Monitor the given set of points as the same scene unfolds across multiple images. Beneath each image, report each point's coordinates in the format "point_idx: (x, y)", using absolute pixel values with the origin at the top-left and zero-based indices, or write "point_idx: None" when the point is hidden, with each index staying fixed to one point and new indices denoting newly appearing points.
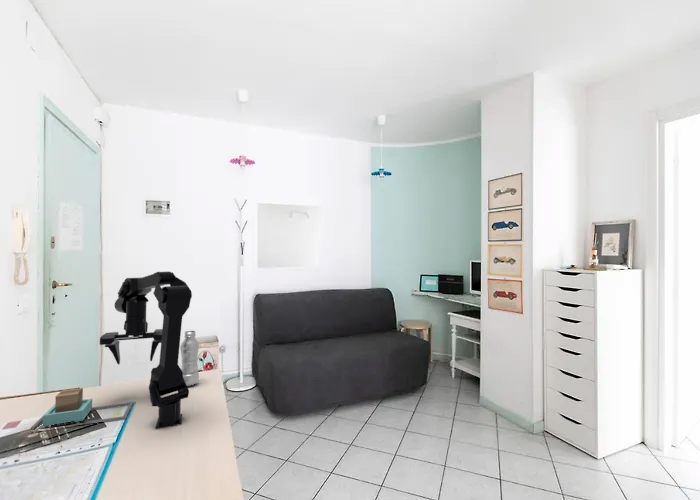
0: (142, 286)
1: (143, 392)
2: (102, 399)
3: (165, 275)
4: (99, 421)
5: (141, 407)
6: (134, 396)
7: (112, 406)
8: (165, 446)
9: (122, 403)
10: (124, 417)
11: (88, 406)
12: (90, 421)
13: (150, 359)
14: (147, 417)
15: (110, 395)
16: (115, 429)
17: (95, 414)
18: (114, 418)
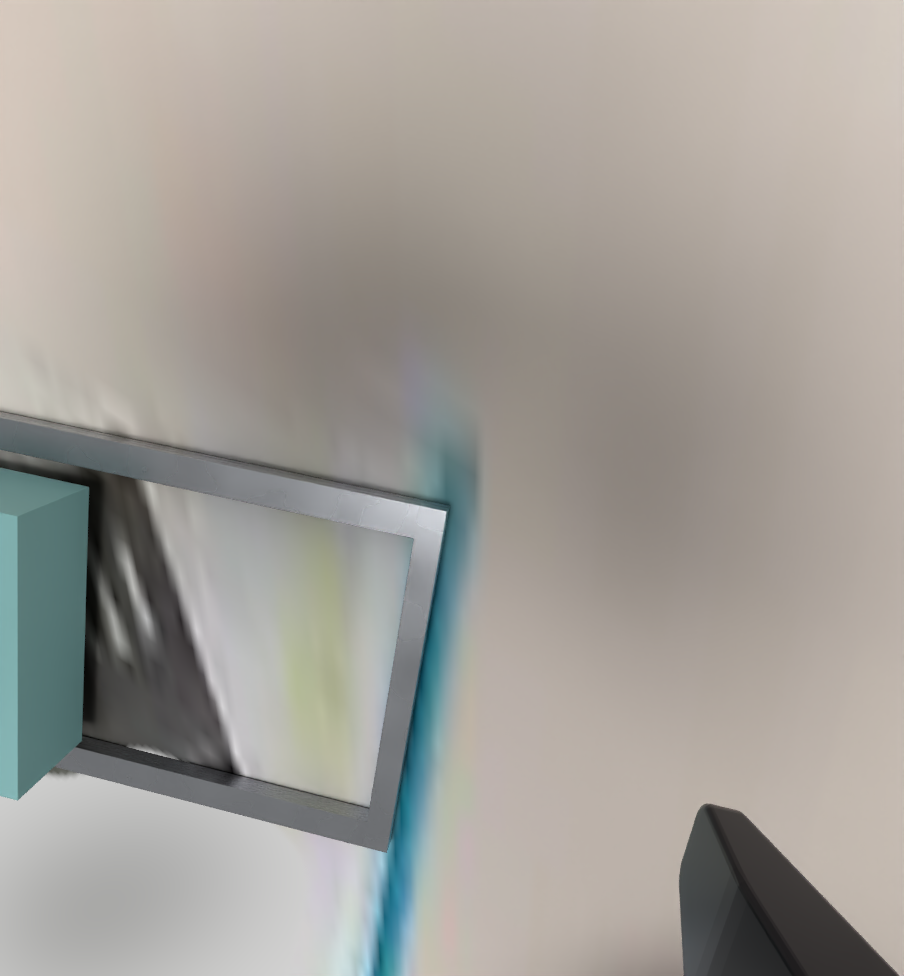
0: None
1: (571, 159)
2: (135, 161)
3: None
4: (207, 803)
5: (521, 661)
6: (464, 264)
7: (262, 500)
8: None
9: (345, 500)
10: (380, 848)
11: (42, 626)
12: (142, 773)
13: (688, 949)
14: (555, 908)
15: (198, 47)
16: (335, 965)
17: (151, 586)
18: (307, 826)
